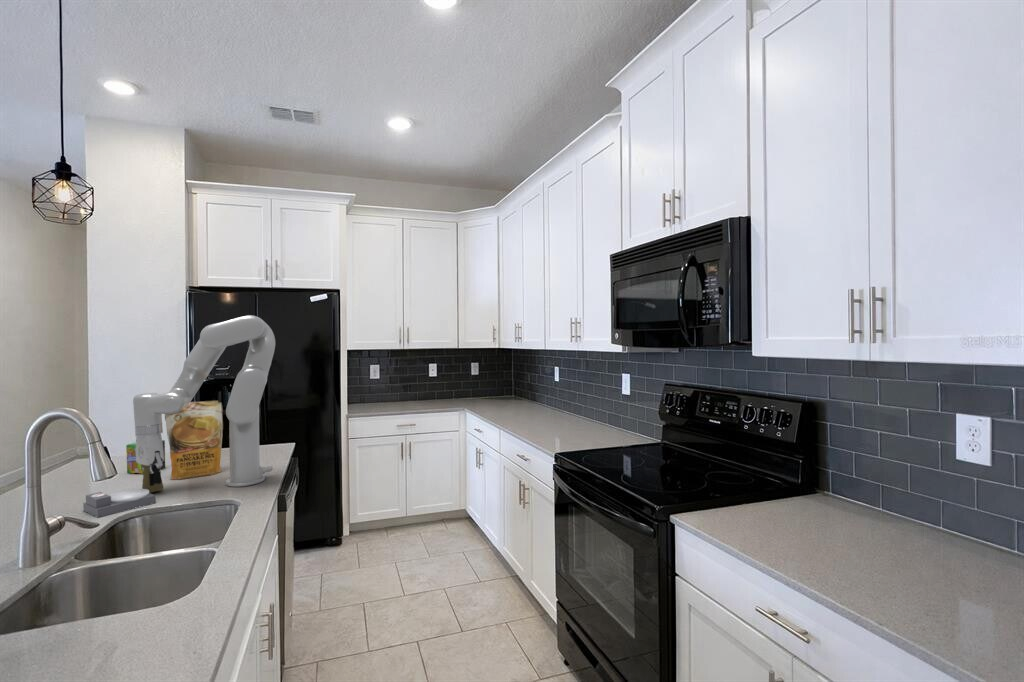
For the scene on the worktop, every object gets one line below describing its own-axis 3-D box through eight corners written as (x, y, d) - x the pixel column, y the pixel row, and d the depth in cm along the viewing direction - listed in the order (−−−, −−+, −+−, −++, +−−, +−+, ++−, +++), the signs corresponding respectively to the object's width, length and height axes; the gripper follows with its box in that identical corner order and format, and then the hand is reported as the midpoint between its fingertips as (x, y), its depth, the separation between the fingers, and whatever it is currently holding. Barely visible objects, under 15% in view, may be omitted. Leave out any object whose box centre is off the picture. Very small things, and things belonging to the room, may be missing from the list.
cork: (168, 486, 174) (165, 455, 174) (153, 492, 168) (151, 459, 168) (151, 487, 175) (149, 455, 174) (137, 492, 169) (135, 460, 168)
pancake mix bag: (165, 477, 189) (163, 403, 189) (223, 469, 200) (222, 398, 200) (165, 482, 184) (163, 405, 183) (225, 473, 195) (224, 400, 194)
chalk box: (146, 467, 204) (145, 431, 204) (166, 468, 203) (165, 431, 203) (125, 474, 195) (124, 435, 195) (146, 474, 194) (145, 436, 194)
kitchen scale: (140, 497, 167) (140, 481, 167) (155, 502, 161) (155, 486, 161) (83, 510, 154) (83, 493, 154) (97, 517, 148) (97, 499, 148)
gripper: (125, 430, 172) (129, 483, 173) (147, 434, 163) (151, 490, 164) (150, 426, 178) (154, 477, 179) (172, 429, 169) (176, 483, 170)
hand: (152, 483), depth 171 cm, fingers closed on cork, 3 cm apart
